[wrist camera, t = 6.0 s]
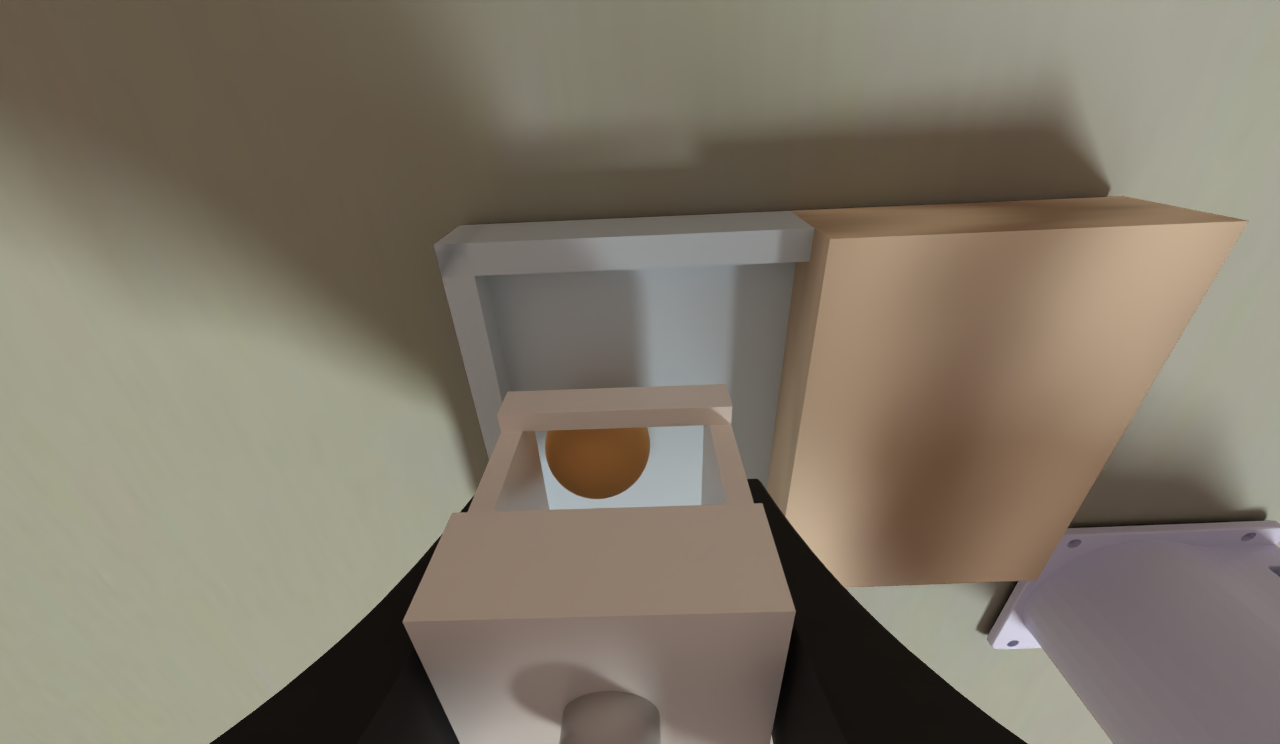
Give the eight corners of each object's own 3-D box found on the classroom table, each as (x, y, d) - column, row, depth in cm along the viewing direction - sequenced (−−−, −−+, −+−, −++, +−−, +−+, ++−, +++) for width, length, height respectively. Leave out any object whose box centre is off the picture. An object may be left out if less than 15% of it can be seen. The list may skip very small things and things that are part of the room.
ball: (667, 405, 12) (561, 447, 11) (672, 493, 14) (579, 539, 12) (614, 365, 15) (521, 396, 13) (623, 443, 16) (540, 478, 15)
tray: (790, 210, 13) (814, 228, 11) (754, 522, 19) (766, 565, 17) (459, 225, 13) (433, 244, 11) (528, 531, 19) (518, 575, 17)
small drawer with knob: (725, 383, 12) (815, 672, 6) (716, 536, 14) (771, 841, 8) (507, 391, 12) (373, 683, 6) (538, 542, 14) (469, 847, 8)
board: (1123, 196, 13) (1248, 221, 10) (980, 513, 19) (1036, 580, 16) (790, 210, 13) (830, 239, 10) (754, 522, 19) (773, 590, 16)
